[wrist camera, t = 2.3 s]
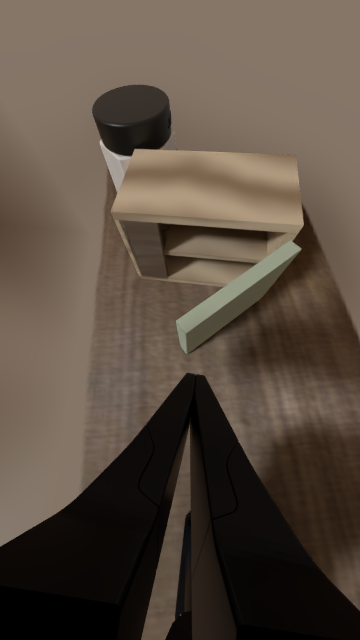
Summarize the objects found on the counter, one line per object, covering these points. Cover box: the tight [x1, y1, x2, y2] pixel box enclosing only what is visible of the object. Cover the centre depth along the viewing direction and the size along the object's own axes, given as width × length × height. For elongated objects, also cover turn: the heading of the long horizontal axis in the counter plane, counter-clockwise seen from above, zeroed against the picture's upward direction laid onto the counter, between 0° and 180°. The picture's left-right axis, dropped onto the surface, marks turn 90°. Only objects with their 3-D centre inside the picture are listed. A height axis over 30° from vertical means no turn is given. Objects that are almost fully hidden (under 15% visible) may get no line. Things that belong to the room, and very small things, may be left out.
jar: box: [92, 85, 176, 193], centre depth 24 cm, size 9×8×12 cm
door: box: [176, 240, 301, 354], centre depth 18 cm, size 1×12×9 cm, turn 126°
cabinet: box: [111, 149, 304, 287], centre depth 21 cm, size 9×16×10 cm, turn 81°
